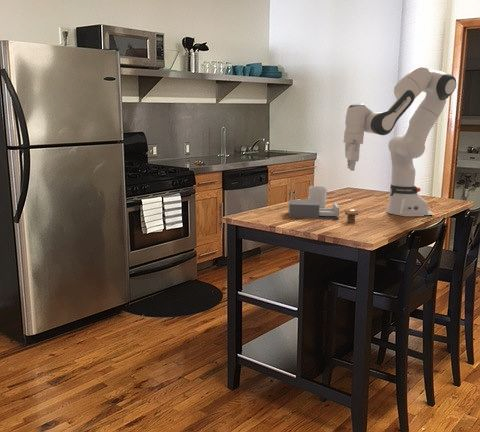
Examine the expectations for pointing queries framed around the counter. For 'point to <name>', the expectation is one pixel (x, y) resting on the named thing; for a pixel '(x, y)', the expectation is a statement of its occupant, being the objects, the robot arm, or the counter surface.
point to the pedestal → (351, 218)
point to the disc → (351, 211)
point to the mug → (318, 195)
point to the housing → (306, 209)
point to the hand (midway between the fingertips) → (350, 169)
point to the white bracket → (329, 211)
